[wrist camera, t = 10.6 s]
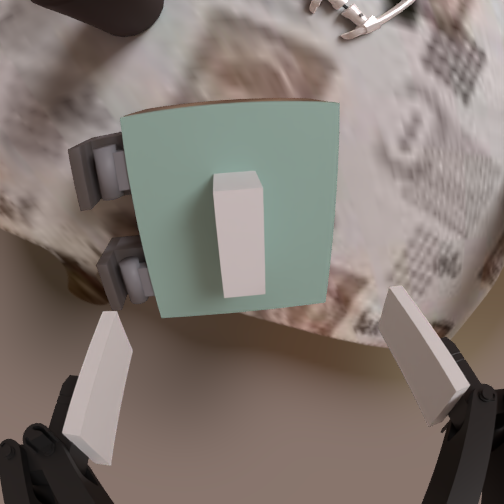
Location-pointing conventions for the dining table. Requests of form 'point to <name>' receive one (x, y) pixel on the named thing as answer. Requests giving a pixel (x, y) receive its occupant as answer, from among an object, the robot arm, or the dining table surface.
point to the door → (228, 204)
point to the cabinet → (91, 194)
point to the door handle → (362, 16)
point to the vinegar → (109, 13)
